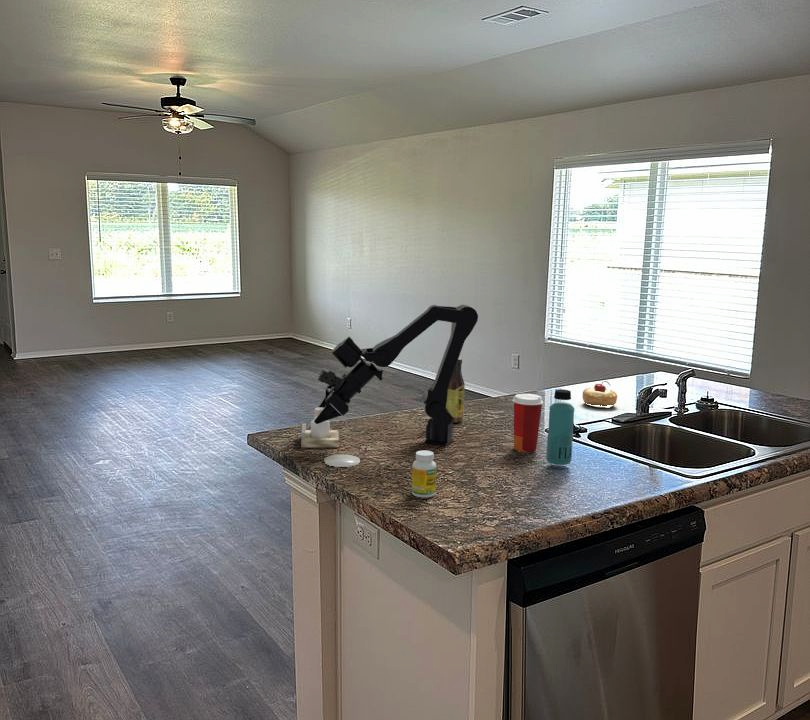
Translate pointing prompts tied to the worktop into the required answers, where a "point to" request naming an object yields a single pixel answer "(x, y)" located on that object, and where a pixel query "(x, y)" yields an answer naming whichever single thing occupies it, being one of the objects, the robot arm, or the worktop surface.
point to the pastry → (599, 395)
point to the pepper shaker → (320, 427)
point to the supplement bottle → (424, 474)
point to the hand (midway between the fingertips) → (315, 418)
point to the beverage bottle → (560, 429)
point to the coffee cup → (526, 421)
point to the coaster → (342, 460)
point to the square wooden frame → (318, 439)
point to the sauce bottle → (456, 394)
